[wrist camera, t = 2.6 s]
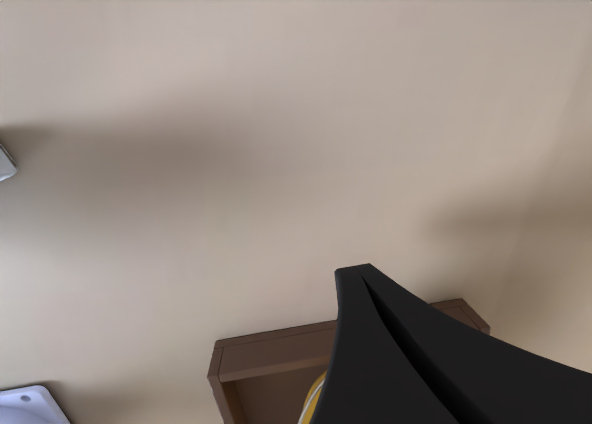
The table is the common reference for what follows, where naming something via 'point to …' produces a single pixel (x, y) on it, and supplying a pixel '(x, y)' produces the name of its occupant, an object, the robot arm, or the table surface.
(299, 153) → the table surface
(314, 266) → the table surface
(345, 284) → the robot arm
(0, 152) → the ink box
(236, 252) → the table surface
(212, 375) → the tray
